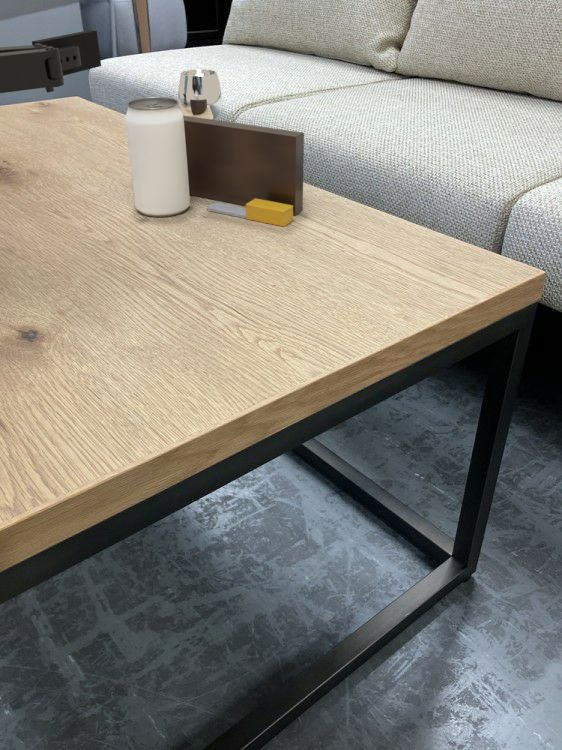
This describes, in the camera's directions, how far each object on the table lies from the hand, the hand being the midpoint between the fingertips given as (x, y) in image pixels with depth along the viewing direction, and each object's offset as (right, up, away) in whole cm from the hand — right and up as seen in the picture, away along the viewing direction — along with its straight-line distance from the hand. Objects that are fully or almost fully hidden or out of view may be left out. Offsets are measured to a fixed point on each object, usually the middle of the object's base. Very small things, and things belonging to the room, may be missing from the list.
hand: (35, 41), depth 61 cm
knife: (+18, -11, +20) cm, 29 cm away
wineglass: (+11, 0, +36) cm, 38 cm away
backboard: (+14, -7, +25) cm, 30 cm away
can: (+7, -9, +22) cm, 25 cm away
